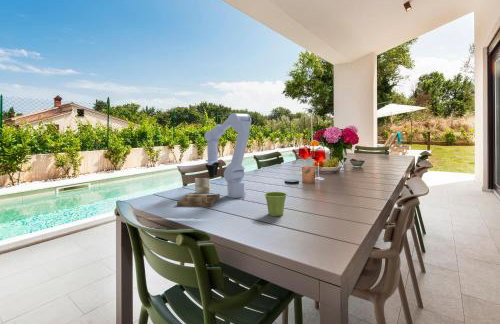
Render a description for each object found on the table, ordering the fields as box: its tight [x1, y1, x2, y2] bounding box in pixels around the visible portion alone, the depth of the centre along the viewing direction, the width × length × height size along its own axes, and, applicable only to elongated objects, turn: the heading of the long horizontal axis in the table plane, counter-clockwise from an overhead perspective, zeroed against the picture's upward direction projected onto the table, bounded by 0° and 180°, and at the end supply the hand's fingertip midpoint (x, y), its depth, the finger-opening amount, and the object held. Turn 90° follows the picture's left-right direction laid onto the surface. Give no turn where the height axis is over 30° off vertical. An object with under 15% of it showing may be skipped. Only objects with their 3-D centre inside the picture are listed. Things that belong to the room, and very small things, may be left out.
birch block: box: [194, 177, 211, 194], centre depth 157 cm, size 8×2×9 cm, turn 84°
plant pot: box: [264, 191, 288, 217], centre depth 118 cm, size 9×9×9 cm
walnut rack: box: [176, 192, 221, 208], centre depth 137 cm, size 16×18×3 cm
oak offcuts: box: [187, 193, 208, 203], centre depth 132 cm, size 9×3×4 cm, turn 84°
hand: (213, 176), depth 161 cm, fingers open, 7 cm apart
